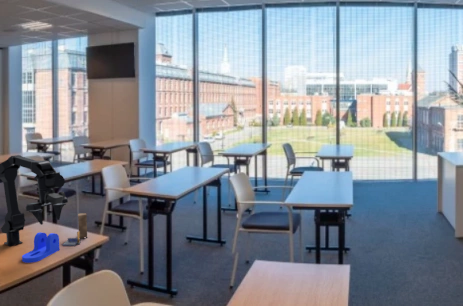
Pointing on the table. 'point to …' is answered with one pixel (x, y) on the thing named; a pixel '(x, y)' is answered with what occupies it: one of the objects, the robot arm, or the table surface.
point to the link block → (82, 225)
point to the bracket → (42, 247)
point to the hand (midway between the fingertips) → (50, 222)
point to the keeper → (72, 241)
